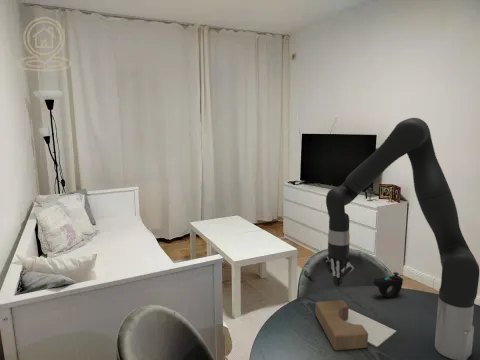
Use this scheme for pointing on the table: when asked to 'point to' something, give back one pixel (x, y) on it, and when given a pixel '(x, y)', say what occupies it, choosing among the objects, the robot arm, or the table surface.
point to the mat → (371, 328)
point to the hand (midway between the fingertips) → (337, 285)
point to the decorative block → (340, 326)
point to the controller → (387, 282)
